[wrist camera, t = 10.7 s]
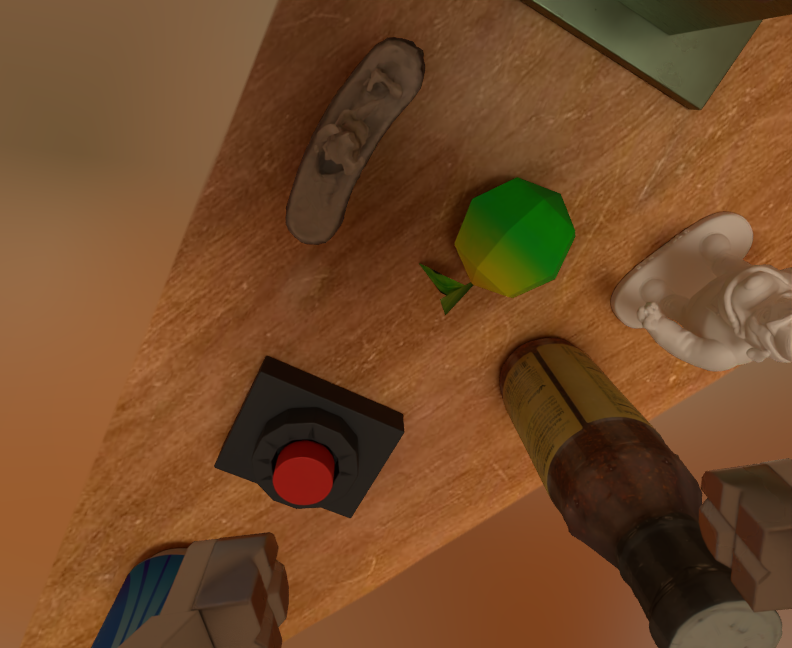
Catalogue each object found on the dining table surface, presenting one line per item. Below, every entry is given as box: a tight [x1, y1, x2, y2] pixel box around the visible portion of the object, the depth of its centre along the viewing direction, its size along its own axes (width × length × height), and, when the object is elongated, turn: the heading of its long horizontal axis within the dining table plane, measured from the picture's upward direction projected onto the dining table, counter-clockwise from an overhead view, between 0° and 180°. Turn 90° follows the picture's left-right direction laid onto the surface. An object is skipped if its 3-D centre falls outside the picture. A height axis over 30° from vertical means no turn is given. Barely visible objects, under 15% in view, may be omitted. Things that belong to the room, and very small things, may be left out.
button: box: [273, 440, 335, 505], centre depth 34 cm, size 4×4×2 cm
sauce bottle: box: [500, 338, 782, 648], centre depth 28 cm, size 6×6×20 cm
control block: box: [214, 356, 404, 518], centre depth 36 cm, size 10×8×4 cm
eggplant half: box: [286, 37, 425, 245], centre depth 25 cm, size 9×3×11 cm, turn 149°
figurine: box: [611, 212, 792, 371], centre depth 29 cm, size 9×7×12 cm
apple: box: [419, 177, 575, 315], centre depth 31 cm, size 7×6×9 cm
